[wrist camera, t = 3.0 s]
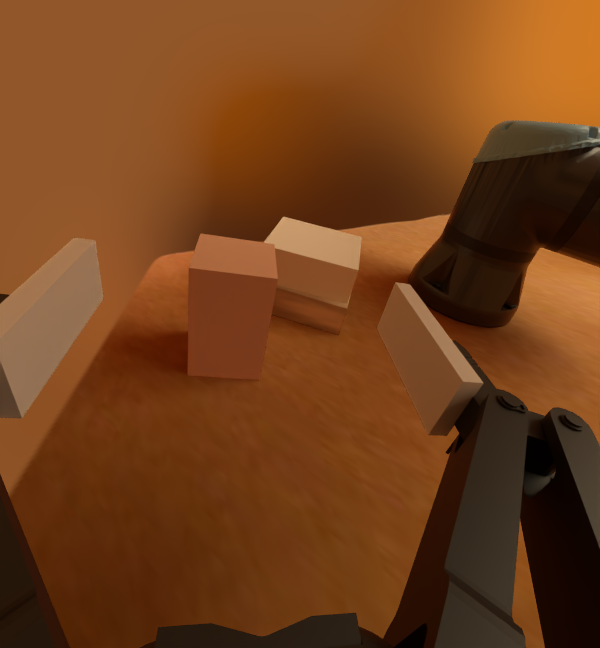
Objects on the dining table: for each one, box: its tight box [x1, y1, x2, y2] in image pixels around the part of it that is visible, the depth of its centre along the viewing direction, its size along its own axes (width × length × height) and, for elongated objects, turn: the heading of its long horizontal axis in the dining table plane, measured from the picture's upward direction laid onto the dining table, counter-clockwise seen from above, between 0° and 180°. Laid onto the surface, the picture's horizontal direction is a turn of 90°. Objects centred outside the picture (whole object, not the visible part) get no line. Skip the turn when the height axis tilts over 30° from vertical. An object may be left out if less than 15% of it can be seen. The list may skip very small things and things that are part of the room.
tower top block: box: [264, 217, 361, 304], centre depth 40 cm, size 10×10×4 cm
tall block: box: [188, 234, 278, 380], centre depth 29 cm, size 6×6×10 cm
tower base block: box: [272, 285, 351, 335], centre depth 42 cm, size 11×11×4 cm
